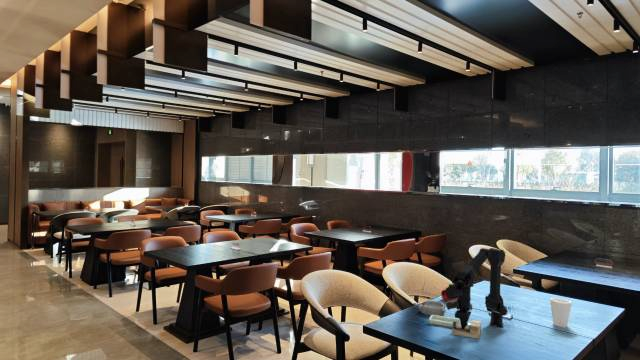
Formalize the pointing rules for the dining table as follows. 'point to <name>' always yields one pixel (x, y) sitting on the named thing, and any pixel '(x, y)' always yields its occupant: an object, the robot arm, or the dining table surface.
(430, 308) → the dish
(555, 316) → the foam cup
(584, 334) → the dining table surface
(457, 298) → the pomegranate
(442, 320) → the tray
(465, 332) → the bracket
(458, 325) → the pin
